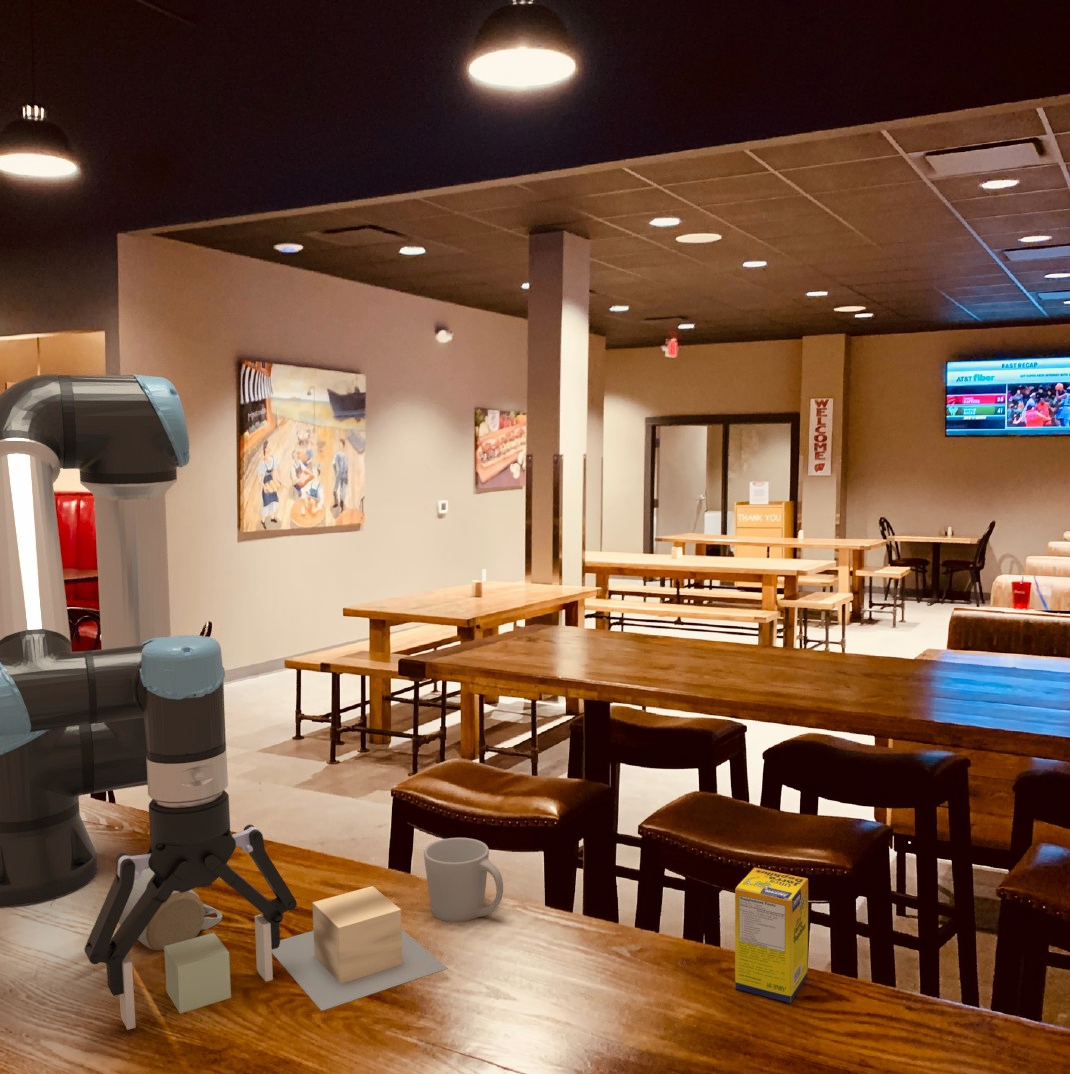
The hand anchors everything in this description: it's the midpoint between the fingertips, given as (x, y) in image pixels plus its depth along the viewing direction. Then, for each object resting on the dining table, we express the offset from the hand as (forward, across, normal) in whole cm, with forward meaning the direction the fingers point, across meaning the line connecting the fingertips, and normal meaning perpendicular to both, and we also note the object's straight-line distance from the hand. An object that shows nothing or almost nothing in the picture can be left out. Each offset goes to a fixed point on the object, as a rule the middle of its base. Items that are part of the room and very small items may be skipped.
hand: (199, 1000), depth 105 cm
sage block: (+1, 0, 0) cm, 1 cm away
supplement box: (+1, +50, -30) cm, 58 cm away
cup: (+1, +31, 0) cm, 31 cm away
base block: (-1, +16, -3) cm, 16 cm away
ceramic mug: (+1, +2, +16) cm, 16 cm away
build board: (+1, +16, -2) cm, 16 cm away
